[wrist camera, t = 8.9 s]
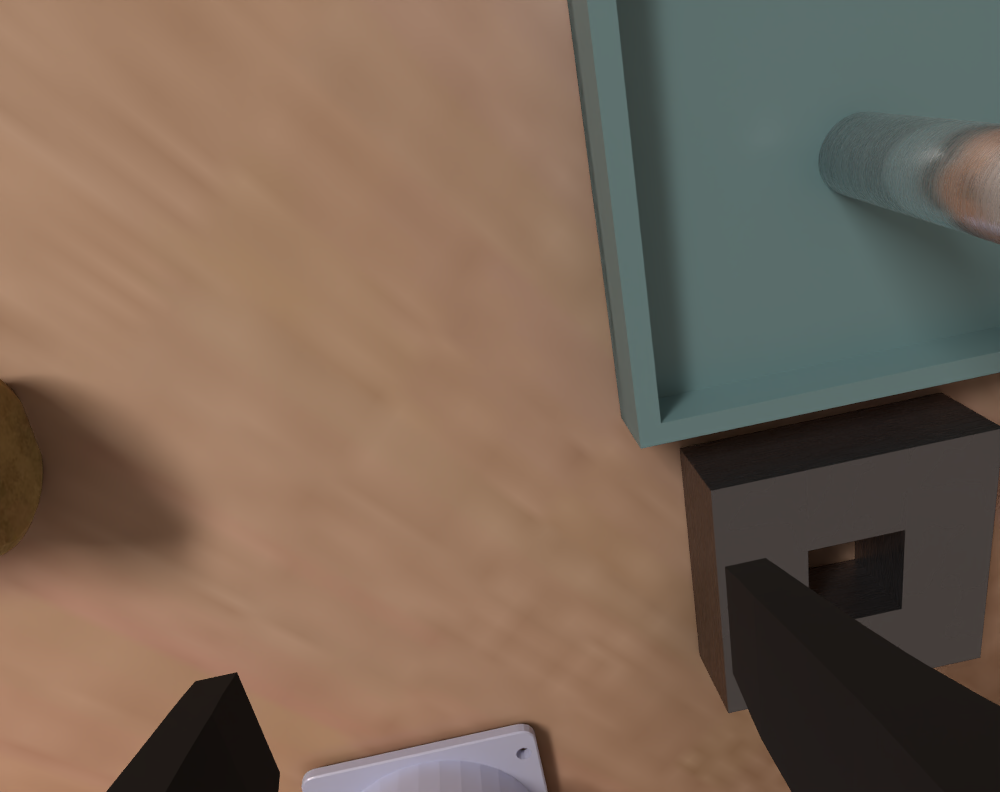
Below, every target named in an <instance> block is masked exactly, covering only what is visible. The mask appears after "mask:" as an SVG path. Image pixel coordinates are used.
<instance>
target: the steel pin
mask: <svg viewBox="0 0 1000 792" xmlns="http://www.w3.org/2000/svg"><path fill="white" fill-rule="evenodd" d="M818 165H819V172H820V175H821V177H822V179H823V181H824V183H825V184H826V185H827V186H828V187H829V188H830V189H831V190H832V191H834V192H836V193H838V194H841V195H844V196H848V197H851V198H854V199H857V200H860V201H864V202H867V203H870V204H873V205H876V206H879V207H883V208H886V209H889V210H892V211H895V212H898V213H902V214H905V215H908V216H911V217H914V218H918V219H921V220H924V221H927V222H930V223H933V224H937V225H940V226H943V227H946V228H949V229H953V230H956V231H959V232H962V233H965V234H968V235H972V236H975V237H978V238H981V239H984V240H987V241H991V242H994V243H997V244H1000V123H989V122H978V121H967V120H956V119H945V118H934V117H923V116H912V115H901V114H890V113H879V112H858V113H854V114H852V115H849V116H847V117H845V118H844V119H842V120H841V121H839V122H838V123H837V124H836V125H835V126H834V127H833V128H832V129H831V130H830V131H829V133H828V134H827V135H826V137H825V139H824V141H823V143H822V145H821V148H820V152H819V159H818Z"/></svg>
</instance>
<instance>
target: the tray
mask: <svg viewBox="0 0 1000 792" xmlns="http://www.w3.org/2000/svg"><path fill="white" fill-rule="evenodd" d="M567 1H568V9H569V17H570V25H571V32H572V40H573V48H574V55H575V63H576V71H577V78H578V86H579V94H580V102H581V109H582V117H583V125H584V132H585V140H586V148H587V156H588V163H589V171H590V179H591V186H592V194H593V202H594V210H595V217H596V225H597V233H598V240H599V248H600V256H601V264H602V271H603V279H604V287H605V294H606V302H607V310H608V318H609V325H610V333H611V341H612V348H613V356H614V364H615V372H616V379H617V387H618V395H619V402H620V410H621V418H622V419H623V421H624V422H625V424H626V426H627V427H628V429H629V430H630V432H631V434H632V435H633V437H634V438H635V440H636V442H637V443H638V445H639V447H640V448H646V447H651V446H655V445H660V444H665V443H669V442H674V441H679V440H684V439H688V438H693V437H698V436H702V435H707V434H712V433H717V432H721V431H726V430H731V429H735V428H740V427H745V426H749V425H754V424H759V423H764V422H768V421H773V420H778V419H782V418H787V417H792V416H797V415H801V414H806V413H811V412H815V411H820V410H825V409H829V408H834V407H839V406H844V405H848V404H853V403H858V402H862V401H867V400H872V399H877V398H881V397H886V396H891V395H895V394H900V393H905V392H910V391H914V390H919V389H924V388H928V387H933V386H938V385H942V384H947V383H952V382H957V381H961V380H966V379H971V378H975V377H980V376H985V375H990V374H994V373H999V372H1000V244H997V243H994V242H991V241H987V240H984V239H981V238H978V237H975V236H972V235H968V234H965V233H962V232H959V231H956V230H953V229H949V228H946V227H943V226H940V225H937V224H933V223H930V222H927V221H924V220H921V219H918V218H914V217H911V216H908V215H905V214H902V213H898V212H895V211H892V210H889V209H886V208H883V207H879V206H876V205H873V204H870V203H867V202H864V201H860V200H857V199H854V198H851V197H848V196H844V195H841V194H838V193H836V192H834V191H832V190H831V189H830V188H829V187H828V186H827V185H826V184H825V183H824V181H823V179H822V177H821V175H820V172H819V165H818V159H819V152H820V148H821V145H822V143H823V141H824V139H825V137H826V135H827V134H828V133H829V131H830V130H831V129H832V128H833V127H834V126H835V125H836V124H837V123H838V122H839V121H841V120H842V119H844V118H845V117H847V116H849V115H852V114H854V113H858V112H879V113H890V114H901V115H912V116H923V117H934V118H945V119H956V120H967V121H978V122H989V123H1000V0H567Z"/></svg>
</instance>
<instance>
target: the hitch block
mask: <svg viewBox="0 0 1000 792" xmlns="http://www.w3.org/2000/svg"><path fill="white" fill-rule="evenodd" d="M680 455H681V466H682V476H683V487H684V497H685V507H686V518H687V528H688V539H689V549H690V559H691V570H692V580H693V591H694V601H695V611H696V622H697V632H698V642H699V653H700V657H701V659H702V661H703V663H704V665H705V667H706V669H707V671H708V673H709V675H710V677H711V679H712V681H713V683H714V685H715V687H716V689H717V691H718V693H719V695H720V697H721V699H722V701H723V703H724V705H725V707H726V709H727V711H728V713H731V712H736V711H740V710H745V709H748V708H747V705H746V703H745V701H744V698H743V696H742V694H741V691H740V689H739V687H738V684H737V682H736V680H735V677H734V675H733V670H732V657H731V643H730V630H729V616H728V603H727V589H726V576H725V567H726V566H730V565H735V564H740V563H744V562H749V561H753V560H758V559H763V558H767V559H768V560H769V561H771V562H772V563H774V564H775V565H777V566H778V567H780V568H781V569H783V570H784V571H786V572H787V573H788V574H790V575H791V576H793V577H794V578H796V579H797V580H799V581H800V582H801V583H803V584H804V585H806V586H807V587H809V588H810V589H811V590H813V591H814V592H816V593H817V594H819V595H820V596H822V597H823V598H824V599H826V600H827V601H829V602H830V603H832V604H833V605H835V606H836V607H838V608H839V609H841V610H842V611H843V612H845V613H846V614H848V615H849V616H851V617H852V618H854V619H855V620H857V621H858V622H860V623H861V624H863V625H864V626H866V627H867V628H869V629H871V630H872V631H874V632H875V633H877V634H878V635H880V636H881V637H883V638H885V639H886V640H888V641H889V642H891V643H892V644H894V645H895V646H897V647H899V648H900V649H902V650H903V651H905V652H906V653H908V654H910V655H911V656H913V657H915V658H916V659H918V660H920V661H921V662H923V663H924V664H926V665H928V666H930V667H931V668H935V667H939V666H944V665H948V664H953V663H957V662H962V661H966V660H971V659H976V658H980V655H981V645H982V635H983V625H984V615H985V606H986V596H987V586H988V576H989V566H990V556H991V546H992V537H993V527H994V517H995V507H996V497H997V487H998V477H999V468H1000V426H999V425H997V424H995V423H993V422H992V421H990V420H988V419H986V418H985V417H983V416H981V415H980V414H978V413H976V412H974V411H973V410H971V409H969V408H967V407H966V406H964V405H962V404H960V403H959V402H957V401H955V400H953V399H952V398H950V397H948V396H946V395H945V394H943V393H939V394H934V395H929V396H925V397H920V398H915V399H911V400H906V401H901V402H896V403H892V404H887V405H882V406H878V407H873V408H868V409H864V410H859V411H854V412H849V413H845V414H840V415H835V416H831V417H826V418H821V419H817V420H812V421H807V422H802V423H798V424H793V425H788V426H784V427H779V428H774V429H769V430H765V431H760V432H755V433H751V434H746V435H741V436H737V437H732V438H727V439H722V440H718V441H713V442H708V443H704V444H699V445H694V446H690V447H685V448H680ZM852 541H855V559H854V560H849V561H845V562H840V563H835V564H831V565H826V566H822V567H817V568H812V569H808V551H810V550H815V549H820V548H824V547H829V546H833V545H838V544H843V543H847V542H852Z"/></svg>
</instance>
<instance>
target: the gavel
mask: <svg viewBox="0 0 1000 792" xmlns="http://www.w3.org/2000/svg"><path fill="white" fill-rule="evenodd" d="M42 479H43V466H42V455H41V452H40V450H39V447H38V445H37V442H36V439H35V437H34V434H33V432H32V429H31V426H30V424H29V421H28V419H27V416H26V413H25V411H24V408H23V406H22V403H21V401H20V400H19V399H18V397H17V396H16V395H15V393H14V392H13V391H12V390H11V389H10V388H9V387H8V386H7V385H6V384H5V383H4V382H3V381H2V380H1V379H0V555H3V554H5V553H7V552H8V551H9V550H11V549H12V548H13V547H15V546H16V545H17V544H18V543H19V541H20V540H21V539H22V538H23V537H24V535H25V534H26V532H27V530H28V528H29V526H30V525H31V523H32V520H33V517H34V515H35V512H36V509H37V506H38V504H39V499H40V495H41V490H42Z"/></svg>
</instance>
